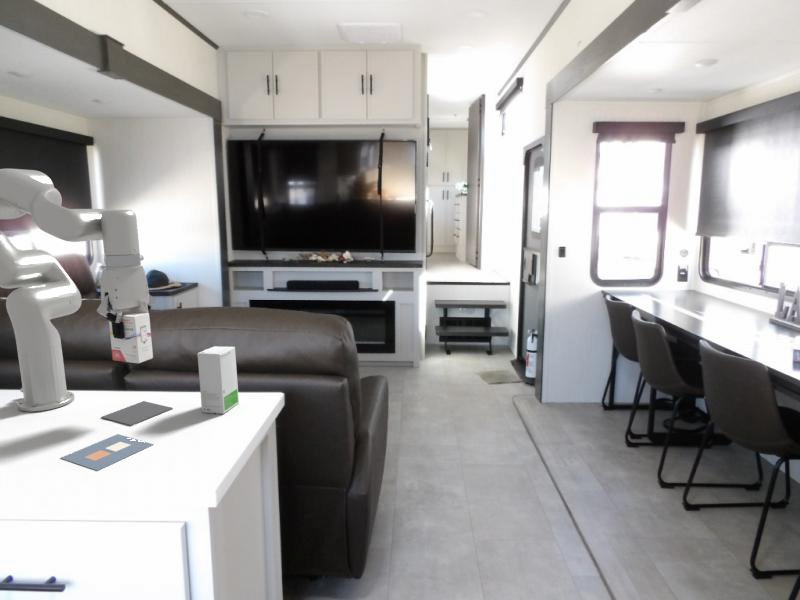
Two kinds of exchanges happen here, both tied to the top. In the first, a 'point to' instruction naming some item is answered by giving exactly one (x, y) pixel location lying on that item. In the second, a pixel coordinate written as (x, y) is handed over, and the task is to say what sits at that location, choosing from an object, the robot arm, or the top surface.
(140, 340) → the ink cartridge box
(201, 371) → the skincare box
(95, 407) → the top surface
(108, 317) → the robot arm
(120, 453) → the tile
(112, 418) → the rubber mat
